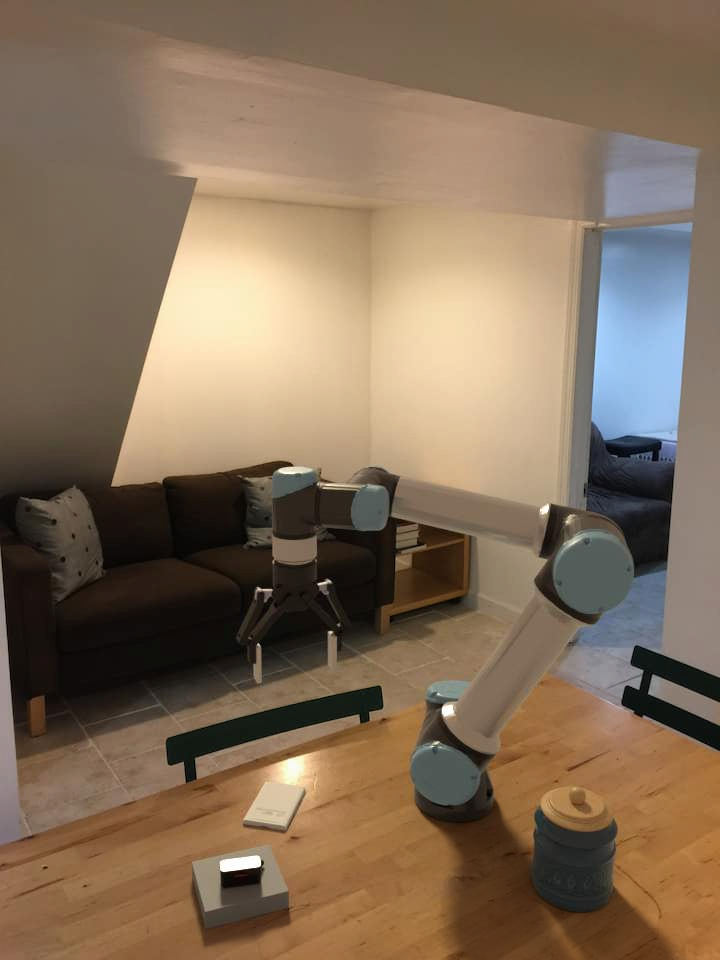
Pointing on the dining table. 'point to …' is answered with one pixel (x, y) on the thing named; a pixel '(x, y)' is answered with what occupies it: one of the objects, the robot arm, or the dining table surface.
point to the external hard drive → (274, 805)
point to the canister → (574, 849)
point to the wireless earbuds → (240, 871)
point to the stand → (238, 889)
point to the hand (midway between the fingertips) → (295, 674)
